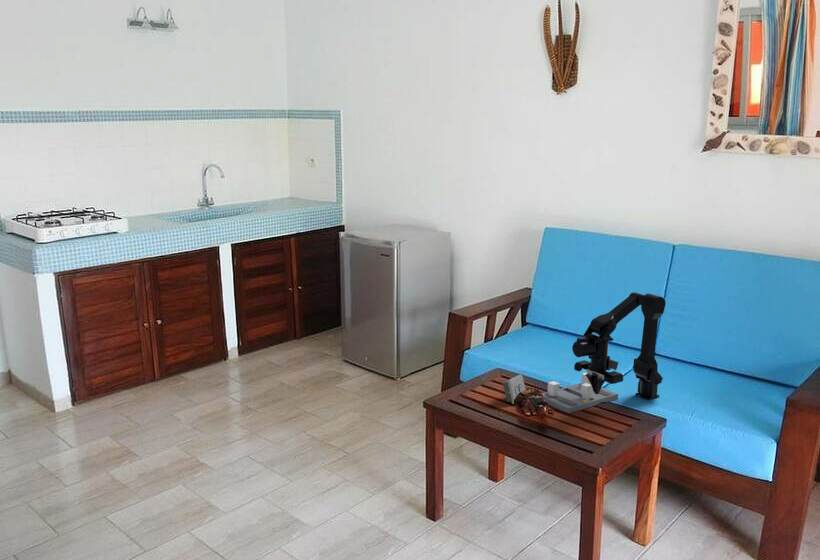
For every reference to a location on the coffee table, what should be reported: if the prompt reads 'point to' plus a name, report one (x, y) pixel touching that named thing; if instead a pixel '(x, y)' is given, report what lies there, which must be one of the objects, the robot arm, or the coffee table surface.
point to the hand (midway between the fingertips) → (596, 394)
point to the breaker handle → (586, 391)
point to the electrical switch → (513, 387)
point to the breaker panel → (575, 396)
